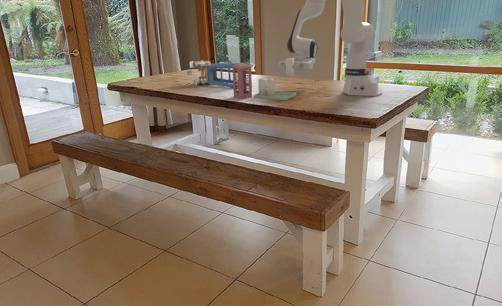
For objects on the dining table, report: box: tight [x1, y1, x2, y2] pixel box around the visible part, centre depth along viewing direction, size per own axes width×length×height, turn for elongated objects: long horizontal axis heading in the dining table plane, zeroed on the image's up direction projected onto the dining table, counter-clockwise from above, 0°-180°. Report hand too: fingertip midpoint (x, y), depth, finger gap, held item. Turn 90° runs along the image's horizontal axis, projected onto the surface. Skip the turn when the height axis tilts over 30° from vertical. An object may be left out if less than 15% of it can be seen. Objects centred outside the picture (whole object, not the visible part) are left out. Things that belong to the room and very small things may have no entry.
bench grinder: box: [186, 59, 250, 90], centre depth 266 cm, size 17×17×45 cm
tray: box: [253, 90, 297, 101], centre depth 222 cm, size 20×14×2 cm
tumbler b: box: [257, 78, 267, 96], centre depth 222 cm, size 5×5×10 cm
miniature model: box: [231, 62, 253, 100], centre depth 221 cm, size 9×9×20 cm
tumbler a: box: [266, 78, 276, 96], centre depth 219 cm, size 5×5×10 cm
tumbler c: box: [285, 57, 295, 78], centre depth 222 cm, size 5×5×10 cm
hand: (289, 66), depth 221 cm, fingers closed on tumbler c, 5 cm apart
